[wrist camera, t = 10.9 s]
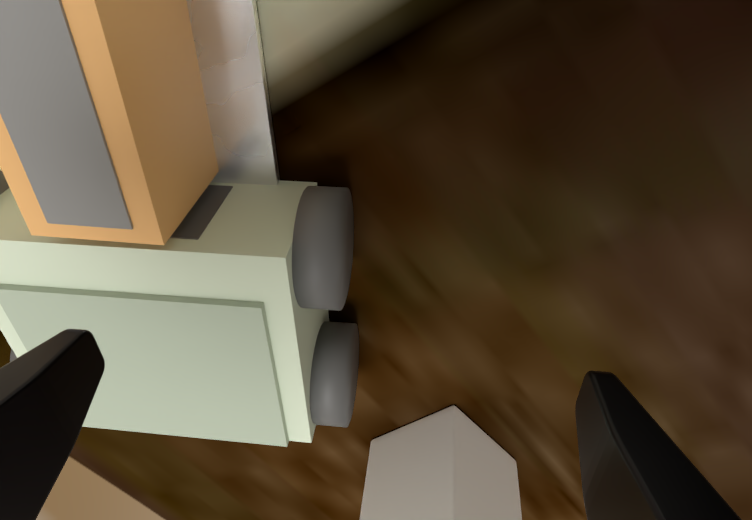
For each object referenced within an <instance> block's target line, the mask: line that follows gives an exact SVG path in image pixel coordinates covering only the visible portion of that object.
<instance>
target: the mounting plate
mask: <svg viewBox="0 0 752 520" xmlns="http://www.w3.org/2000/svg"><path fill="white" fill-rule="evenodd" d="M186 1H187V6H188V12H189V17H190V22H191V27H192V33H193V38H194V43H195V48H196V54H197V59H198V64H199V70H200V75H201V80H202V85H203V91H204V96H205V101H206V106H207V112H208V117H209V122H210V127H211V133H212V138H213V143H214V148H215V154H216V159H217V164H218V169H219V172H218V173H217V174H216V176H215V177H214V178H213V180H212V181H211V182H217V183H237V184H258V185H278V183H279V182H280V176H279V169H278V161H277V154H276V147H275V139H274V132H273V124H272V117H271V109H270V102H269V94H268V87H267V79H266V72H265V64H264V57H263V50H262V42H261V35H260V27H259V20H258V12H257V5H256V0H186Z"/></svg>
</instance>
